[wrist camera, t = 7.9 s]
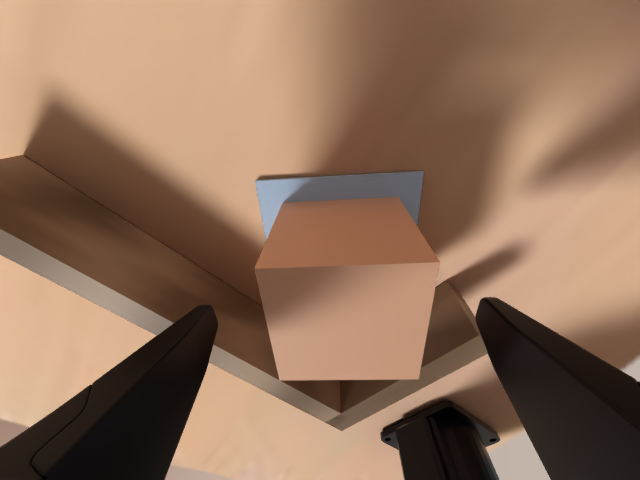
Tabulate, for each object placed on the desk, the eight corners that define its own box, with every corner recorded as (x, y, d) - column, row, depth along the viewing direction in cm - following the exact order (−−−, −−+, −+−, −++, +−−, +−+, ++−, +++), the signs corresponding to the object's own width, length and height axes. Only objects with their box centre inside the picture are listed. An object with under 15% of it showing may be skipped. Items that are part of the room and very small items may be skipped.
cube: (391, 288, 14) (418, 379, 9) (295, 291, 14) (279, 380, 10) (398, 196, 11) (439, 261, 7) (282, 202, 12) (254, 269, 7)
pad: (422, 170, 11) (423, 172, 11) (406, 300, 14) (407, 302, 14) (256, 179, 11) (255, 181, 11) (278, 303, 15) (278, 305, 15)
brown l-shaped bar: (459, 293, 14) (495, 349, 11) (339, 372, 18) (341, 430, 15) (81, -45, 8) (-66, -126, 5) (16, 175, 12) (-95, 205, 9)
